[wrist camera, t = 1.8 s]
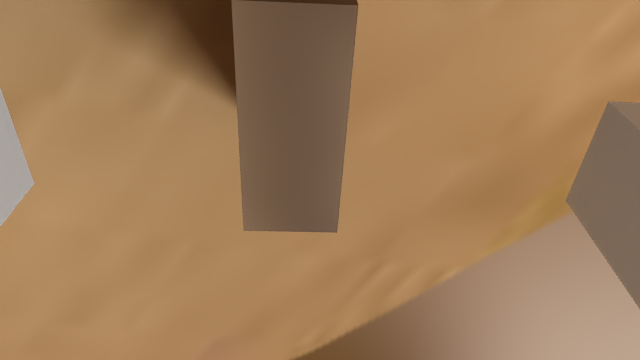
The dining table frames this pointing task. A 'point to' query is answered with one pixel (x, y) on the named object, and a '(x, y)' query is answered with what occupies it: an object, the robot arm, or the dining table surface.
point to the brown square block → (292, 109)
